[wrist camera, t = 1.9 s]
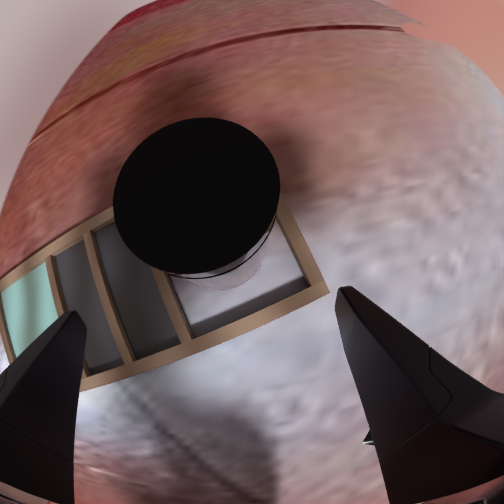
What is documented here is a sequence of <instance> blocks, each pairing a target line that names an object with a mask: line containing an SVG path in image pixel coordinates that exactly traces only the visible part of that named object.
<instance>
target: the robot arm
mask: <svg viewBox="0 0 504 504" xmlns="http://www.w3.org/2000/svg"><path fill="white" fill-rule="evenodd" d="M335 313H336V317H337V321H338V325H339V329H340V334H341V338H342V342H343V347H344V351H345V354H346V357H347V360H348V363H349V366H350V369H351V372H352V375H353V378H354V381H355V384H356V387H357V390H358V393H359V396H360V399H361V402H362V405H363V408H364V411H365V415H366V418H367V421H368V424H369V428H370V431H371V434H372V438H373V441H374V445H375V448H376V452H377V455H378V459H379V463H380V467H381V471H382V474H383V478H384V482H385V486H386V490H387V495H388V499H389V503H390V504H416V503H421V502H424V503H422V504H504V394H503V393H499V392H496V391H493V390H491V389H490V388H488V387H486V386H485V385H483V384H482V383H480V382H479V381H477V380H476V379H474V378H473V377H471V376H470V375H468V374H467V373H465V372H464V371H462V370H461V369H459V368H458V367H457V366H455V365H454V364H452V363H451V362H449V361H448V360H447V359H446V358H444V357H443V356H442V355H440V354H439V353H438V352H437V351H435V350H434V349H433V348H432V347H429V345H428V344H426V343H425V342H424V341H423V340H421V339H420V338H419V337H418V336H416V335H415V334H414V333H412V332H411V331H410V330H409V329H407V328H406V327H405V326H404V325H402V324H401V323H400V322H398V321H397V320H396V319H394V318H393V317H392V316H391V315H389V314H388V313H387V312H385V311H384V310H383V309H381V308H380V307H379V306H377V305H376V304H375V303H374V302H372V301H371V300H370V299H368V298H367V297H366V296H364V295H363V294H362V293H360V292H359V291H358V290H356V289H355V288H353V287H352V286H345V287H340V288H339V289H338V291H337V297H336V303H335ZM86 338H87V326H86V324H85V323H84V321H83V320H82V318H81V317H80V315H79V313H78V312H77V311H75V310H68V311H65V312H64V313H63V314H62V315H61V316H60V317H59V318H58V319H56V320H55V321H54V322H53V323H52V324H51V325H50V326H49V327H48V328H47V329H46V330H45V331H43V332H42V333H41V334H40V335H39V336H38V337H37V338H36V339H35V340H34V341H33V342H32V343H31V344H30V345H29V346H28V347H27V348H26V349H25V350H24V351H23V352H22V353H21V354H20V355H19V356H18V357H17V358H16V359H15V360H14V361H13V362H12V363H11V364H10V365H9V366H8V368H6V369H5V370H4V371H3V372H2V373H1V374H0V504H50V501H51V502H55V503H58V504H75V501H74V463H73V462H74V439H75V425H76V415H77V406H78V398H79V391H80V385H81V378H82V372H83V365H84V355H85V346H86Z"/></svg>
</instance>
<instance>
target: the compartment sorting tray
mask: <svg viewBox="0 0 504 504" xmlns="http://www.w3.org/2000/svg"><path fill="white" fill-rule="evenodd" d="M276 220H277V222H278V224H279V226H280V228H281V230H282V232H283V234H284V236H285V238H286V240H287V242H288V245H289V247H290V249H291V251H292V253H293V255H294V257H295V259H296V261H297V263H298V265H299V267H300V269H301V272H302V274H303V276H304V278H305V280H306V282H307V284H308V286H309V287H308V288H306V289H304V290H302V291H300V292H298V293H296V294H294V295H291V296H289V297H287V298H285V299H283V300H281V301H279V302H277V303H274V304H272V305H270V306H268V307H266V308H264V309H261V310H259V311H257V312H255V313H252V314H250V315H248V316H246V317H243V318H241V319H239V320H237V321H234V322H232V323H230V324H227V325H225V326H223V327H220V328H218V329H216V330H213V331H211V332H208V333H206V334H204V335H201V336H199V337H196V338H194V336H193V334H192V332H191V329H190V327H189V325H188V323H187V320H186V318H185V316H184V313H183V311H182V308H181V306H180V304H179V301H178V299H177V296H176V294H175V291H174V289H173V286H172V284H171V281H170V279H169V276H168V274H167V273H164V272H162V271H160V270H159V269H156V268H154V267H152V266H150V265H148V264H146V263H144V262H143V261H142V260H140V259H139V258H138V257H136V256H135V255H134V254H133V253H132V252H131V251H130V249H129V248H128V247H127V246H126V244H125V243H124V241H123V240H122V238H121V236H120V234H119V232H118V229H117V227H116V223H115V219H114V213H113V206H112V207H110V208H108V209H106V210H105V211H103V212H101V213H99V214H98V215H96V216H94V217H92V218H91V219H89V220H87V221H86V222H84V223H82V224H81V225H79V226H77V227H76V228H74V229H72V230H71V231H69V232H68V233H66V234H64V235H63V236H61V237H60V238H58V239H57V240H55V241H54V242H52V243H51V244H49V245H48V246H46V247H45V248H43V249H42V250H40V251H39V252H37V253H36V254H35V255H33V256H32V257H30V258H29V259H27V260H26V261H25V262H23V263H22V264H21V265H19V266H18V267H17V268H15V269H14V270H13V271H11V272H10V273H9V274H7V275H6V276H5V277H4V278H2V279H1V280H0V332H1V336H2V340H3V344H4V347H5V351H6V354H7V357H8V360H9V364H11V363H12V362H13V361H14V360H15V359H16V358H17V357H18V356H19V355H20V354H21V353H22V352H23V351H24V350H25V349H26V348H27V347H28V346H29V345H30V344H31V343H32V342H33V341H34V340H35V339H36V338H37V337H38V336H39V335H40V334H41V333H42V332H43V331H45V330H46V329H47V328H48V327H49V326H50V325H51V324H52V323H53V322H54V321H55V320H56V319H58V318H59V317H60V316H61V315H62V314H63V313H64V312H65V311H68V310H75V311H77V312H78V313H79V315H80V317H81V318H82V320H83V321H84V323H85V324H86V326H87V338H86V346H85V355H84V365H83V372H82V378H81V385H80V391H79V392H82V391H86V390H89V389H93V388H96V387H100V386H103V385H106V384H110V383H113V382H116V381H119V380H122V379H126V378H129V377H132V376H135V375H138V374H141V373H144V372H147V371H150V370H152V369H155V368H158V367H161V366H164V365H166V364H169V363H172V362H175V361H177V360H180V359H183V358H185V357H188V356H191V355H193V354H196V353H198V352H201V351H203V350H206V349H208V348H211V347H213V346H216V345H218V344H221V343H223V342H225V341H228V340H230V339H233V338H235V337H237V336H240V335H242V334H244V333H247V332H249V331H251V330H253V329H256V328H258V327H260V326H262V325H265V324H267V323H269V322H271V321H273V320H275V319H278V318H280V317H282V316H284V315H286V314H288V313H290V312H292V311H294V310H297V309H299V308H301V307H303V306H305V305H307V304H309V303H311V302H313V301H315V300H317V299H319V298H321V297H323V296H325V295H327V294H329V293H330V292H329V289H328V287H327V285H326V283H325V281H324V279H323V277H322V274H321V272H320V270H319V268H318V266H317V264H316V262H315V260H314V258H313V256H312V254H311V251H310V249H309V247H308V245H307V243H306V241H305V239H304V237H303V235H302V233H301V231H300V229H299V227H298V225H297V223H296V221H295V219H294V218H293V216H292V214H291V212H290V210H289V208H288V206H287V204H286V202H285V200H284V198H283V196H282V195H281V193H280V197H279V203H278V207H277V214H276Z"/></svg>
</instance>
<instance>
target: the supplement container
mask: <svg viewBox="0 0 504 504" xmlns="http://www.w3.org/2000/svg"><path fill="white" fill-rule="evenodd" d="M279 197H280V178H279V173H278V168H277V165H276V163H275V160H274V158H273V156H272V154H271V152H270V151H269V149H268V148H267V147H266V145H265V144H264V143H263V142H262V141H261V140H260V139H259V138H258V137H257V136H256V135H255V134H254V133H252V132H251V131H249V130H248V129H246V128H244V127H242V126H240V125H238V124H236V123H233V122H230V121H227V120H223V119H217V118H193V119H187V120H183V121H179V122H176V123H173V124H170V125H168V126H166V127H164V128H162V129H160V130H158V131H156V132H155V133H153V134H152V135H150V136H149V137H148V138H146V139H145V140H144V141H143V142H142V143H141V144H140V145H138V147H137V148H136V149H135V150H134V151H133V152H132V153H131V155H130V156H129V157H128V159H127V160H126V162H125V164H124V165H123V167H122V169H121V171H120V173H119V176H118V178H117V182H116V185H115V190H114V196H113V213H114V219H115V223H116V227H117V229H118V232H119V234H120V236H121V238H122V240H123V241H124V243H125V244H126V246H127V247H128V248H129V249H130V251H131V252H132V253H133V254H134V255H135V256H136V257H138V258H139V259H140V260H142V261H143V262H144V263H146V264H148V265H150V266H152V267H154V268H156V269H159V270H160V271H162V272H164V273H167V274H169V275H171V276H175V277H178V278H183V279H185V280H188V281H190V282H193V283H195V284H198V285H200V286H203V287H205V288H209V289H214V290H225V289H231V288H234V287H237V286H239V285H241V284H243V283H245V282H246V281H248V280H249V279H250V278H251V277H252V276H253V275H254V274H255V273H256V272H257V271H258V269H259V268H260V266H261V264H262V262H263V260H264V257H265V253H266V249H267V245H268V241H269V237H270V233H271V230H272V228H273V225H274V222H275V218H276V214H277V207H278V203H279Z"/></svg>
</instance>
